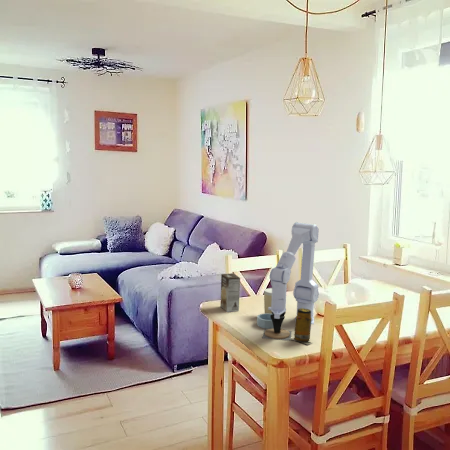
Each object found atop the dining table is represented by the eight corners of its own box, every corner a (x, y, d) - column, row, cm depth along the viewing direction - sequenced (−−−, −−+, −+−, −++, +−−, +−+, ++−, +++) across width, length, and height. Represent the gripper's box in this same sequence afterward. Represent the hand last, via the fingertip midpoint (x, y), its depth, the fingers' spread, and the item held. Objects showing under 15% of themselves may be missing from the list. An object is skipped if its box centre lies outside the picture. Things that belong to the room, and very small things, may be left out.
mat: (264, 329, 199) (264, 328, 199) (291, 332, 197) (291, 331, 197) (262, 339, 188) (262, 338, 188) (290, 341, 186) (290, 340, 186)
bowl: (258, 321, 209) (258, 312, 209) (280, 323, 208) (280, 314, 207) (255, 328, 200) (256, 319, 200) (278, 330, 198) (279, 321, 198)
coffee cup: (282, 320, 211) (283, 294, 210) (261, 318, 213) (262, 292, 211) (284, 314, 220) (285, 288, 219) (264, 312, 222) (265, 287, 220)
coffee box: (219, 306, 229) (220, 273, 227) (232, 305, 231) (233, 273, 229) (226, 312, 221) (228, 278, 219) (239, 311, 223) (240, 277, 221)
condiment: (299, 336, 193) (302, 306, 192) (317, 341, 187) (320, 311, 186) (289, 339, 187) (291, 309, 186) (307, 345, 182) (310, 314, 181)
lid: (265, 329, 198) (266, 318, 198) (290, 331, 196) (290, 320, 196) (263, 337, 188) (264, 325, 188) (289, 340, 187) (289, 328, 186)
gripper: (270, 292, 198) (268, 323, 200) (267, 301, 184) (265, 335, 186) (287, 293, 197) (286, 325, 199) (285, 303, 183) (283, 337, 185)
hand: (277, 330), depth 192 cm, fingers open, 4 cm apart
